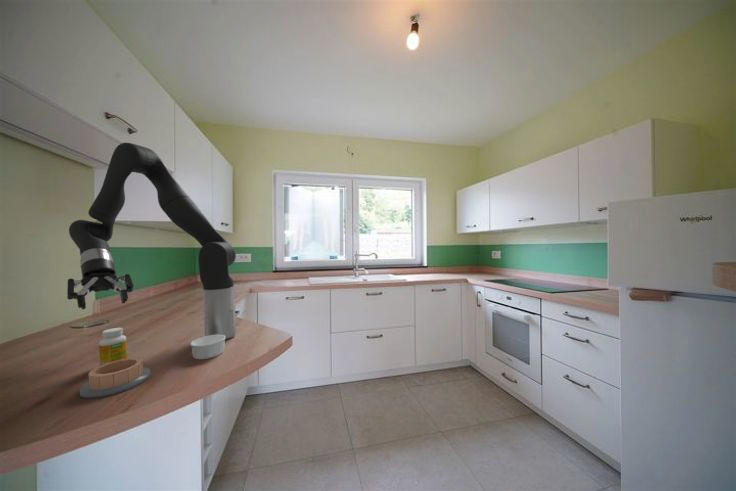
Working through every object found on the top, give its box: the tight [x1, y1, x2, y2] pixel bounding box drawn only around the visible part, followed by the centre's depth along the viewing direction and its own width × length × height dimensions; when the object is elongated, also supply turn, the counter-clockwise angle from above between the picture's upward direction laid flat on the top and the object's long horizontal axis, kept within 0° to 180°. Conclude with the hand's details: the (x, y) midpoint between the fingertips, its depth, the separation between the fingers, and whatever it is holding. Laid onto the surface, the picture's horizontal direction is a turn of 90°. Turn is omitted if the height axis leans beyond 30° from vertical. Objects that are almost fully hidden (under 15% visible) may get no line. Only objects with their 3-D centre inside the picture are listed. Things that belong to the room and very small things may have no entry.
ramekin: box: [189, 334, 226, 360], centre depth 77 cm, size 9×9×4 cm
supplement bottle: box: [98, 327, 128, 366], centre depth 71 cm, size 5×5×10 cm
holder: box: [79, 357, 151, 399], centre depth 61 cm, size 12×12×4 cm
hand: (104, 304), depth 78 cm, fingers open, 8 cm apart
